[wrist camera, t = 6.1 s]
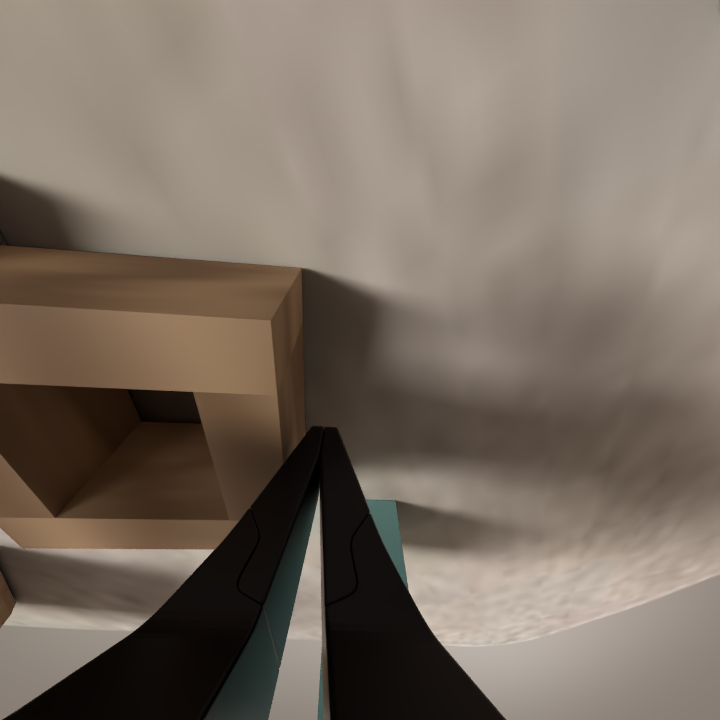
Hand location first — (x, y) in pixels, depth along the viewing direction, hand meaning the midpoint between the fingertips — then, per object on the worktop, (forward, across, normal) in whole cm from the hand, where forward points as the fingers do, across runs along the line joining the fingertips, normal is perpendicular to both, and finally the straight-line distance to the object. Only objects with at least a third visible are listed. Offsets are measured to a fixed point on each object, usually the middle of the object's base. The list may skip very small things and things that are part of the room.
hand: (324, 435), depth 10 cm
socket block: (+3, +6, 0) cm, 7 cm away
